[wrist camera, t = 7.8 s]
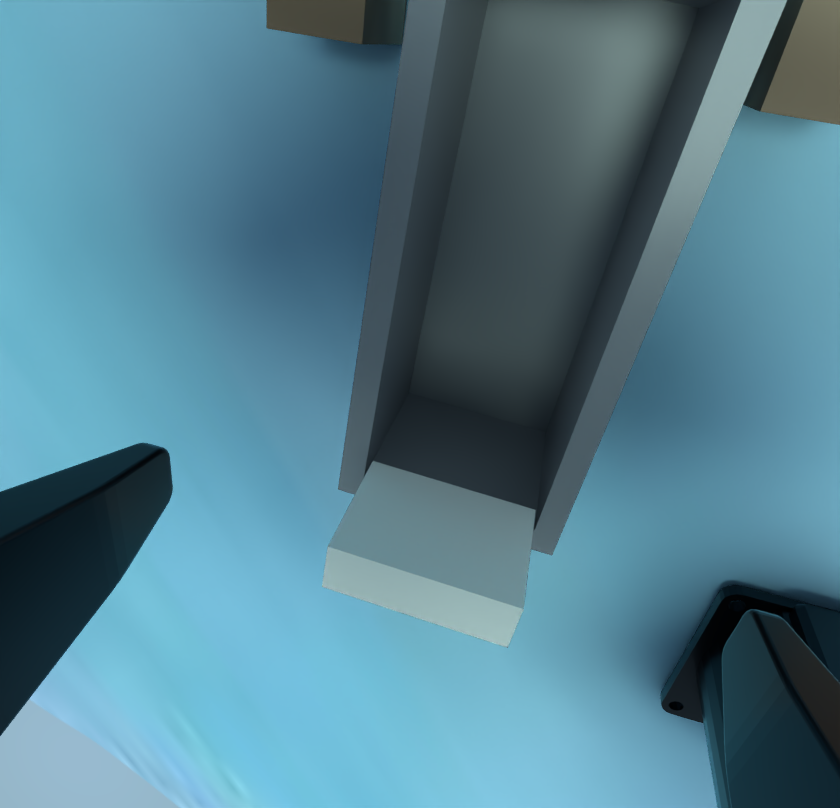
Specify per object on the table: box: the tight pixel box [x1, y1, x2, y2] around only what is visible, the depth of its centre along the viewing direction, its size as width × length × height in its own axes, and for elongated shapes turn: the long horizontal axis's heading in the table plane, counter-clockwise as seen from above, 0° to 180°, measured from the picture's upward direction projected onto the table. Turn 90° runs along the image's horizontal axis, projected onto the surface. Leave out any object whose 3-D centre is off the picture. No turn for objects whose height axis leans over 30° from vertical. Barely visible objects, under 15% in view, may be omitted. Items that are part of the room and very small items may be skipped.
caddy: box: [322, 0, 787, 648], centre depth 13 cm, size 12×6×8 cm, turn 170°
